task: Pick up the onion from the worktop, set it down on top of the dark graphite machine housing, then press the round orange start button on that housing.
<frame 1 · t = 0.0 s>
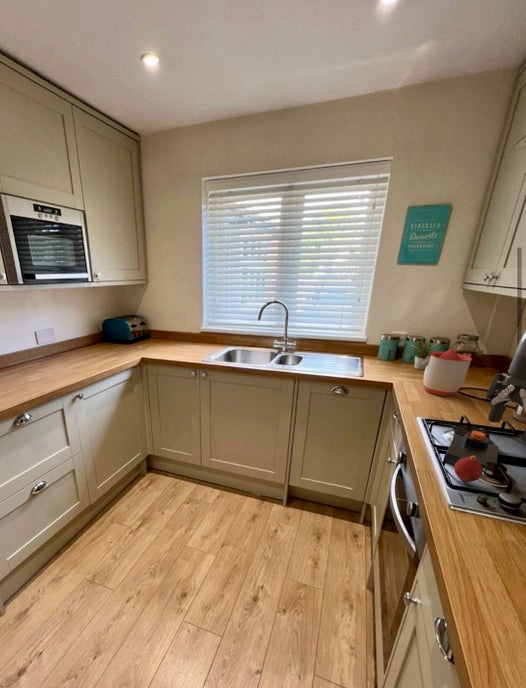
hand: (509, 430, 68), 21 cm above the countertop, tool pointing down, fingers open, 8 cm apart
onion: (463, 482, 86), on the countertop
machine: (469, 458, 97), on the countertop
citrus juicer: (436, 392, 150), on the countertop
start button: (477, 435, 99), point 5 cm above the countertop, slide at 0.1 cm
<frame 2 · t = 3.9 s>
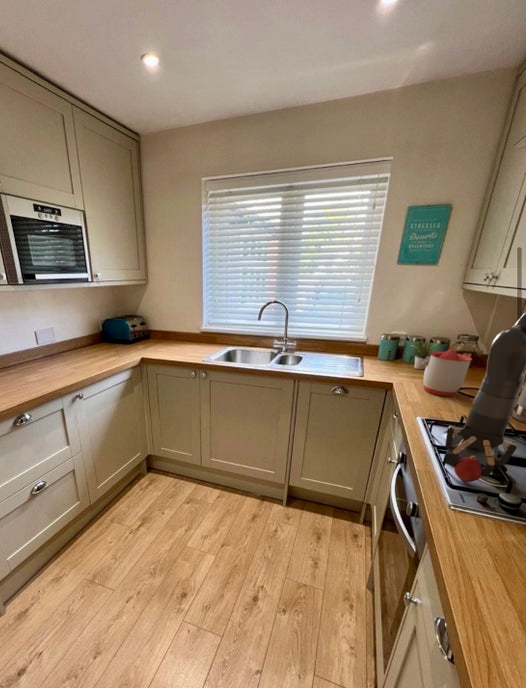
hand: (467, 470, 85), 4 cm above the countertop, tool pointing down, fingers closed on onion, 6 cm apart
onion: (463, 482, 86), on the countertop, touching gripper
everything else where it was.
when the fingers open (7 cm above the countertop, at t = 9.9 s): onion stays where it is, resting on machine.
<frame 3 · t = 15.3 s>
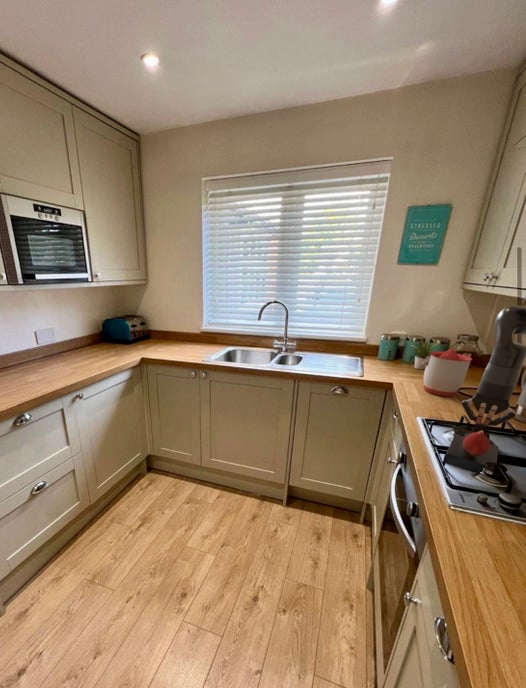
hand: (477, 434, 98), 6 cm above the countertop, tool pointing down, fingers closed
onion: (471, 456, 92), point 3 cm above the countertop, touching machine
start button: (477, 437, 99), point 5 cm above the countertop, slide at -0.4 cm, touching gripper
everything else where it was.
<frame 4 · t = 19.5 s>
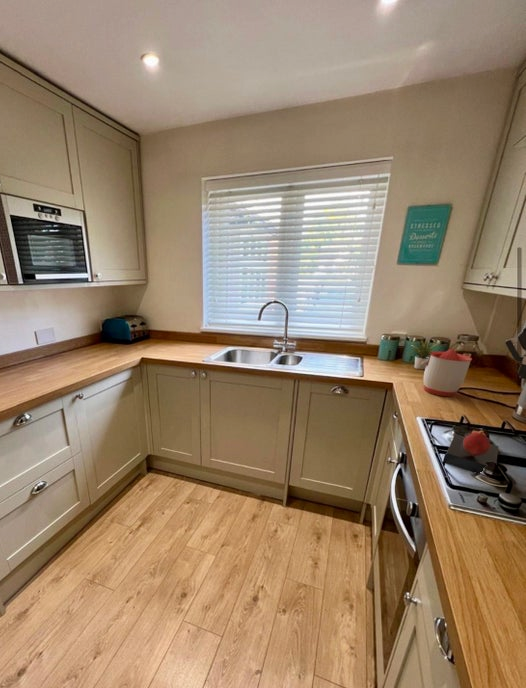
hand: (522, 377, 88), 25 cm above the countertop, tool pointing down, fingers closed
start button: (477, 435, 99), point 5 cm above the countertop, slide at 0.1 cm
everything else where it was.
at the end: onion inside the target area on the machine (0.4 cm from its centre), point 3.0 cm above the machine's base; onion touching machine; start button pushed in 1.1 cm at the most during the clip, back to where it started at the end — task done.
